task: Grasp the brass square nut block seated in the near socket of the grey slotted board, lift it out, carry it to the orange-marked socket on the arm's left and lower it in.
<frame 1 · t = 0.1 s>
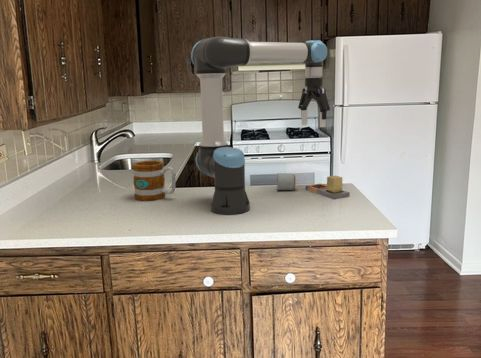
hand: (313, 125, 208), 28 cm above the worktop, fingers open, 13 cm apart
nut block: (334, 195, 198), resting in grey slotted board
grey slotted board: (326, 192, 202), on the worktop
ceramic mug: (285, 189, 211), on the worktop
mug: (156, 198, 200), on the worktop
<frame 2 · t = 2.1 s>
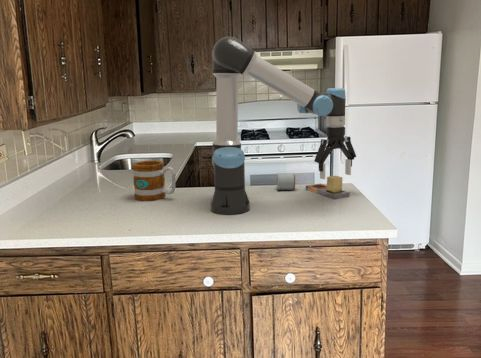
hand: (335, 176, 196), 8 cm above the worktop, fingers open, 13 cm apart
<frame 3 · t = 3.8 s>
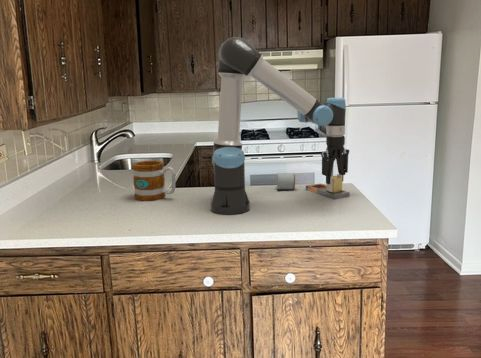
hand: (334, 190, 197), 2 cm above the worktop, fingers closed on nut block, 4 cm apart
nut block: (334, 195, 198), resting in grey slotted board, touching gripper
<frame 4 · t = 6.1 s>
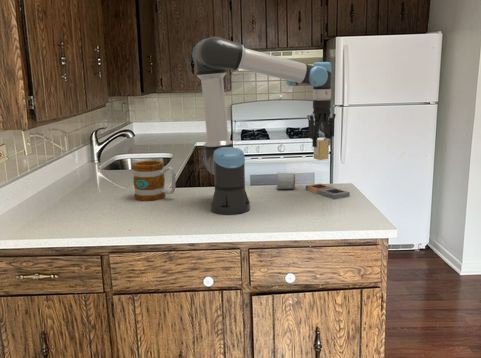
hand: (321, 153, 202), 17 cm above the worktop, fingers closed on nut block, 4 cm apart
nut block: (321, 158, 203), point 14 cm above the worktop, touching gripper
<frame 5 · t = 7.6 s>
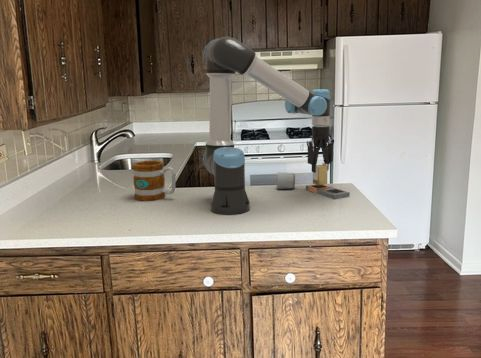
hand: (320, 178, 205), 5 cm above the worktop, fingers closed on nut block, 4 cm apart
nut block: (320, 183, 206), point 3 cm above the worktop, touching gripper
when the fingers open (3 cm above the worktop, at t = 8.7 s): nut block stays where it is, resting in grey slotted board.
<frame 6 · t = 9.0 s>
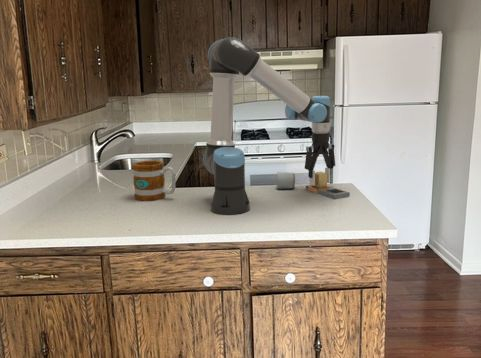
hand: (319, 183, 206), 3 cm above the worktop, fingers open, 8 cm apart
nut block: (319, 190, 206), resting in grey slotted board
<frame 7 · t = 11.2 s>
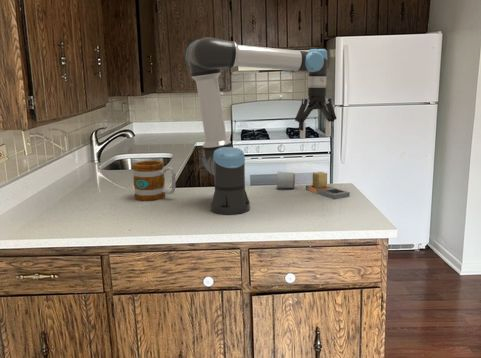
hand: (315, 137, 201), 24 cm above the worktop, fingers open, 13 cm apart
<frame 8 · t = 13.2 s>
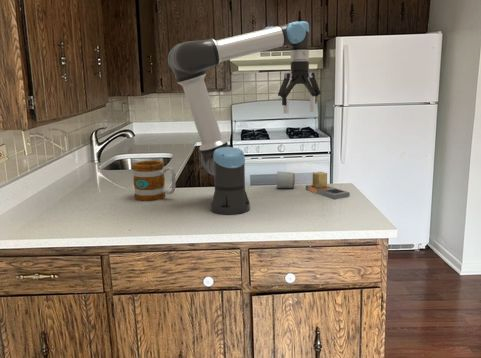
hand: (299, 112, 197), 35 cm above the worktop, fingers open, 13 cm apart
at the end: nut block 0.1 cm from the target spot on the grey slotted board, point 0.0 cm above the grey slotted board's base; nut block tilted 0°; the gripper is holding nothing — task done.
